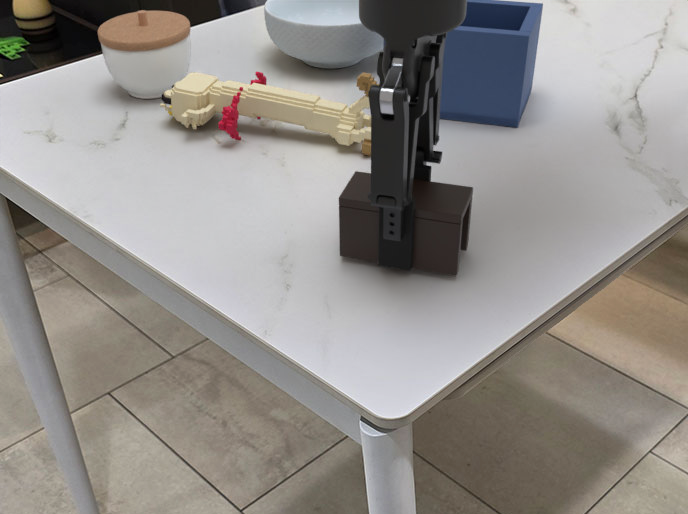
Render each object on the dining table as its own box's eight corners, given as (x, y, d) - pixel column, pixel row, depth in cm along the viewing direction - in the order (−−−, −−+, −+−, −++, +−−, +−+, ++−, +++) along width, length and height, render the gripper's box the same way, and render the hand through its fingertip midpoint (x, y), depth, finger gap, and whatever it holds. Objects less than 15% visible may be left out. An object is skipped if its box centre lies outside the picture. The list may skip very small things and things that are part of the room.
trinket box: (91, 91, 104) (76, 14, 98) (160, 64, 110) (149, -10, 104) (145, 115, 98) (132, 35, 92) (215, 85, 103) (207, 8, 98)
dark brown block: (468, 246, 73) (473, 186, 69) (456, 276, 69) (461, 215, 66) (355, 228, 76) (355, 170, 72) (339, 256, 72) (338, 197, 69)
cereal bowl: (425, 52, 109) (428, -4, 104) (339, 95, 100) (338, 36, 95) (327, 24, 118) (326, -28, 114) (240, 61, 109) (235, 5, 105)
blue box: (531, 90, 98) (543, 3, 92) (517, 127, 91) (529, 35, 85) (404, 77, 103) (407, -7, 97) (381, 111, 95) (383, 23, 89)
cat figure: (389, 135, 93) (185, 92, 100) (398, 59, 88) (181, 19, 95) (361, 178, 86) (143, 129, 93) (369, 98, 81) (137, 52, 87)
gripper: (394, -72, 66) (389, 191, 80) (319, 3, 53) (328, 301, 67) (492, -68, 63) (468, 203, 78) (438, 12, 51) (421, 318, 65)
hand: (403, 248), depth 72 cm, fingers closed on dark brown block, 5 cm apart
